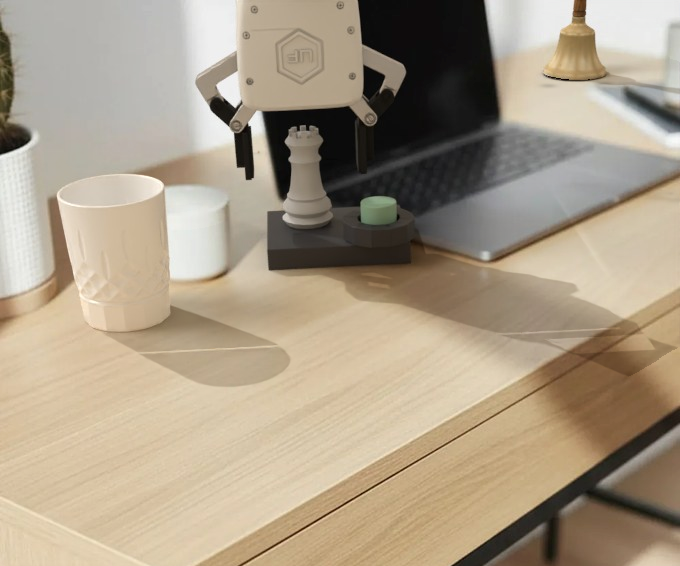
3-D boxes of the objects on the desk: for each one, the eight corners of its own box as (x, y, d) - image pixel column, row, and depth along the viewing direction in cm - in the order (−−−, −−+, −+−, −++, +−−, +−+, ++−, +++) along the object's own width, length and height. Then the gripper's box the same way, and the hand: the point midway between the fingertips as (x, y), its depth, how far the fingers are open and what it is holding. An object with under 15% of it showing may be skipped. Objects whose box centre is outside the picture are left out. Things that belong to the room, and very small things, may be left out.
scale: (404, 224, 110) (404, 186, 108) (417, 268, 100) (417, 227, 99) (268, 231, 109) (265, 193, 108) (268, 275, 100) (265, 235, 98)
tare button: (394, 215, 102) (394, 195, 102) (398, 226, 100) (398, 206, 99) (359, 216, 102) (359, 196, 101) (362, 228, 100) (361, 208, 99)
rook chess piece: (313, 209, 108) (309, 119, 104) (343, 222, 105) (340, 129, 101) (272, 221, 106) (266, 129, 102) (302, 234, 103) (297, 139, 99)
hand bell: (613, 68, 159) (624, -65, 150) (597, 82, 152) (608, -56, 144) (552, 64, 162) (560, -66, 153) (534, 78, 155) (541, -57, 147)
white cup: (150, 341, 90) (134, 210, 84) (58, 330, 92) (36, 202, 87) (195, 301, 96) (182, 177, 91) (107, 292, 98) (89, 170, 93)
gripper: (180, -33, 91) (203, 191, 100) (409, -44, 91) (410, 180, 100) (186, -47, 97) (207, 165, 106) (399, -57, 97) (402, 154, 107)
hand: (305, 172), depth 103 cm, fingers open, 9 cm apart
